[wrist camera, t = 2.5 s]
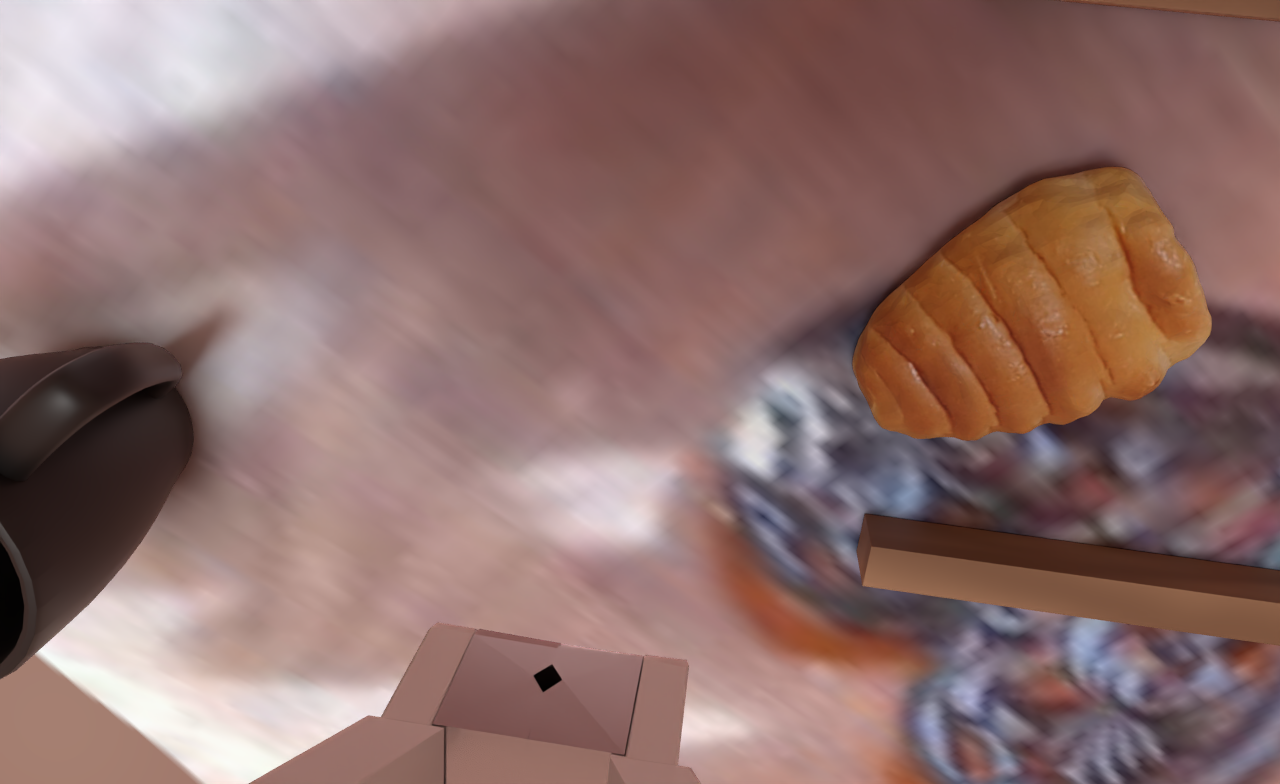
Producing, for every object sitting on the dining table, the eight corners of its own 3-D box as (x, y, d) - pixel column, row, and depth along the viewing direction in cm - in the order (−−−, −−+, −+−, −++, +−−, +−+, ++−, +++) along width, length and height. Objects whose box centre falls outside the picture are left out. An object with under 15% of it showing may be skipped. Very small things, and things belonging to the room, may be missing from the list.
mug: (348, 387, 31) (188, 538, 22) (137, 554, 35) (-69, 736, 26) (170, 193, 29) (-82, 275, 20) (-32, 393, 33) (-316, 532, 24)
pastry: (909, 465, 30) (928, 526, 26) (807, 295, 28) (813, 336, 25) (1202, 326, 27) (1267, 374, 23) (1109, 127, 25) (1164, 146, 22)
